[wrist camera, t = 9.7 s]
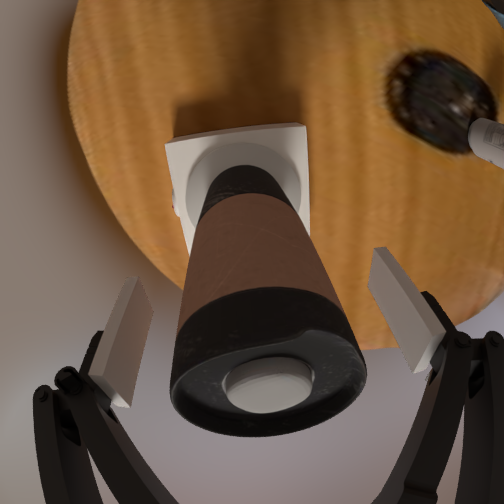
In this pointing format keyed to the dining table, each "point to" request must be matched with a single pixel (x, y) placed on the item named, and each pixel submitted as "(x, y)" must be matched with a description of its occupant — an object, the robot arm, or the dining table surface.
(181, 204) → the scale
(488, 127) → the energy drink can
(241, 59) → the dining table surface
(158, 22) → the dining table surface
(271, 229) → the travel mug
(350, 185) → the dining table surface
